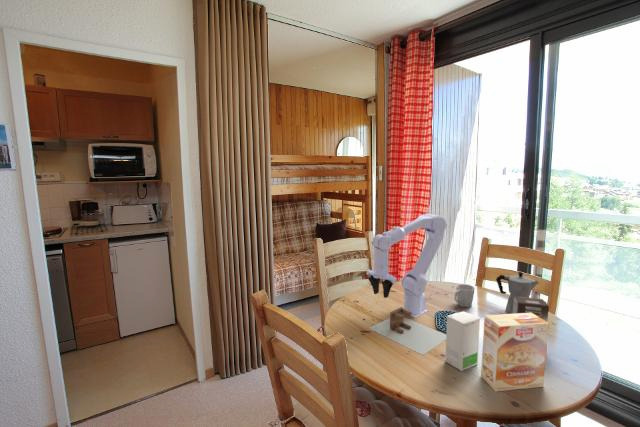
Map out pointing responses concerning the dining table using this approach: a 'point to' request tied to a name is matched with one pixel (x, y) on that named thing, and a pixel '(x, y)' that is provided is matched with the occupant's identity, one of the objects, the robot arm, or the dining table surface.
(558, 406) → the dining table surface
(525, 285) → the coffeepot
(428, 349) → the mat
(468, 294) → the cup
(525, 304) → the coffee box
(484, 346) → the coffeecake box
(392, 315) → the stool
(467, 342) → the skincare box
